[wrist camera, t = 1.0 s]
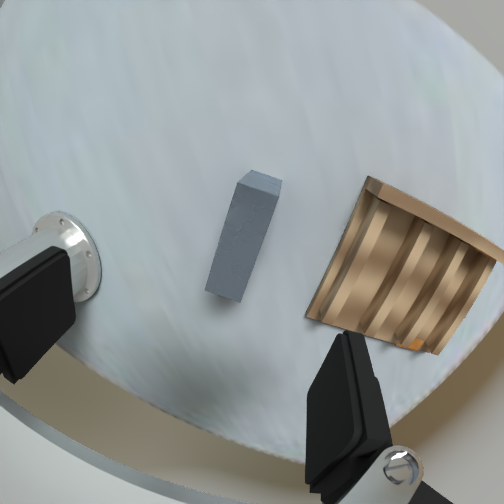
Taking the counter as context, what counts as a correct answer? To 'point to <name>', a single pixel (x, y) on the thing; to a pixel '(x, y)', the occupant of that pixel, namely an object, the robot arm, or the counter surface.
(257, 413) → the counter surface
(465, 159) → the counter surface
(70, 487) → the robot arm
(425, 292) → the rack
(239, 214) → the block
